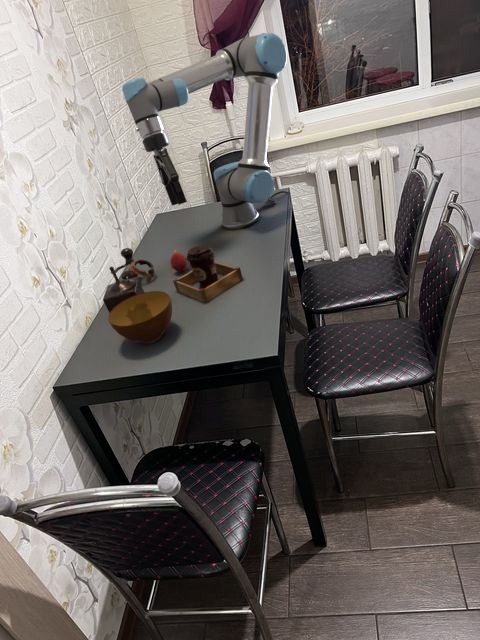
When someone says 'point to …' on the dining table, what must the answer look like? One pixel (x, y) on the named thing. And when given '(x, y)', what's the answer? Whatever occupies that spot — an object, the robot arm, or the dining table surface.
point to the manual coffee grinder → (122, 284)
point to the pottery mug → (139, 271)
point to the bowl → (142, 316)
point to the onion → (178, 262)
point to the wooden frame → (214, 289)
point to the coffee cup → (203, 265)
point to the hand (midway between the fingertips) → (179, 204)
